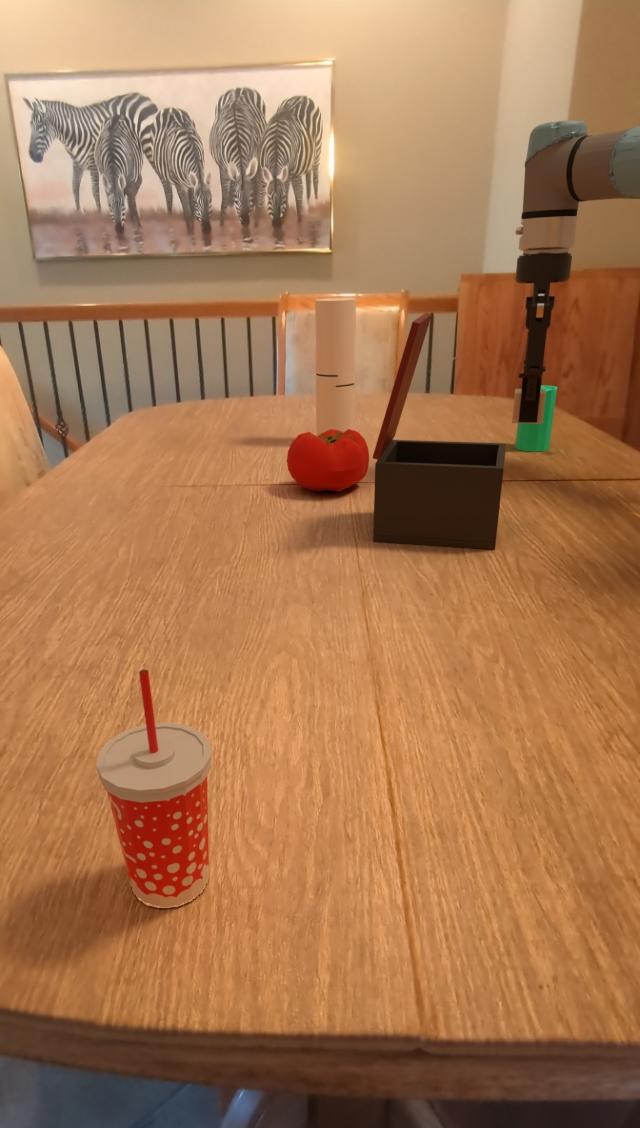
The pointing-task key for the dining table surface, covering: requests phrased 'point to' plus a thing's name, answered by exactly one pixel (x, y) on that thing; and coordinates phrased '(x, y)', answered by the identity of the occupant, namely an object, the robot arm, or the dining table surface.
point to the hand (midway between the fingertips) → (527, 418)
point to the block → (517, 407)
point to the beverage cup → (160, 805)
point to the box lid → (402, 383)
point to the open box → (438, 493)
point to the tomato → (328, 460)
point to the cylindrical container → (335, 364)
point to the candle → (538, 427)
